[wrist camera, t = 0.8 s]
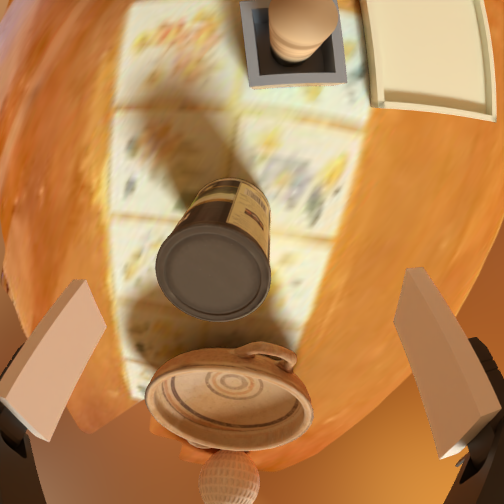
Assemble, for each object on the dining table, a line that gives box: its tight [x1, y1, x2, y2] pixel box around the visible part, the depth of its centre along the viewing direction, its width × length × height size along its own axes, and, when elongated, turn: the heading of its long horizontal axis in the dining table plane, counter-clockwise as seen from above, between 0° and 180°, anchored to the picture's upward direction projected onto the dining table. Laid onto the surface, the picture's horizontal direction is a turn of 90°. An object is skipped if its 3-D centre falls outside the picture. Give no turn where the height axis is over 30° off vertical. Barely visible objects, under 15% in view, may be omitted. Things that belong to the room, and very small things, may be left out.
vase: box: [199, 449, 260, 504], centre depth 62 cm, size 16×16×22 cm
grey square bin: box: [240, 0, 347, 90], centre depth 25 cm, size 9×9×7 cm
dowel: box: [268, 0, 338, 67], centre depth 21 cm, size 4×4×15 cm
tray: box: [359, 0, 496, 122], centre depth 24 cm, size 20×18×3 cm
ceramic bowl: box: [145, 342, 314, 451], centre depth 49 cm, size 37×28×10 cm
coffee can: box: [155, 178, 271, 322], centre depth 32 cm, size 10×10×14 cm
